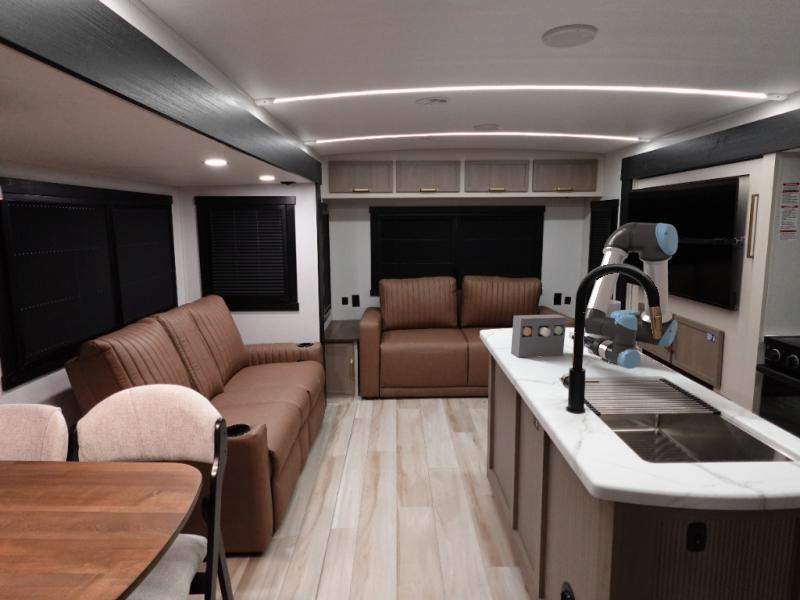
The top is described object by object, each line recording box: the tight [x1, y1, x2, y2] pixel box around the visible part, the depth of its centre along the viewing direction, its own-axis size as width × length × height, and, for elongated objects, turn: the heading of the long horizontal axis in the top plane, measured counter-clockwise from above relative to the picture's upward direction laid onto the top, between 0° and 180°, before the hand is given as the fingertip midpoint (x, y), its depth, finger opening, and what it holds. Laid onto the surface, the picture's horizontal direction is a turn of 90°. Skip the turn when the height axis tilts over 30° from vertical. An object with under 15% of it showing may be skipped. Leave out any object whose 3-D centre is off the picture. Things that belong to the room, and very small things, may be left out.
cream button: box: [538, 326, 550, 337], centre depth 223 cm, size 4×4×4 cm
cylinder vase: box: [586, 299, 622, 355], centre depth 233 cm, size 12×12×25 cm
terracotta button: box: [522, 326, 531, 336], centre depth 223 cm, size 4×4×4 cm
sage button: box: [554, 325, 563, 335], centre depth 227 cm, size 4×4×4 cm
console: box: [510, 313, 567, 359], centre depth 227 cm, size 23×7×18 cm, turn 105°
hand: (570, 334), depth 217 cm, fingers closed
